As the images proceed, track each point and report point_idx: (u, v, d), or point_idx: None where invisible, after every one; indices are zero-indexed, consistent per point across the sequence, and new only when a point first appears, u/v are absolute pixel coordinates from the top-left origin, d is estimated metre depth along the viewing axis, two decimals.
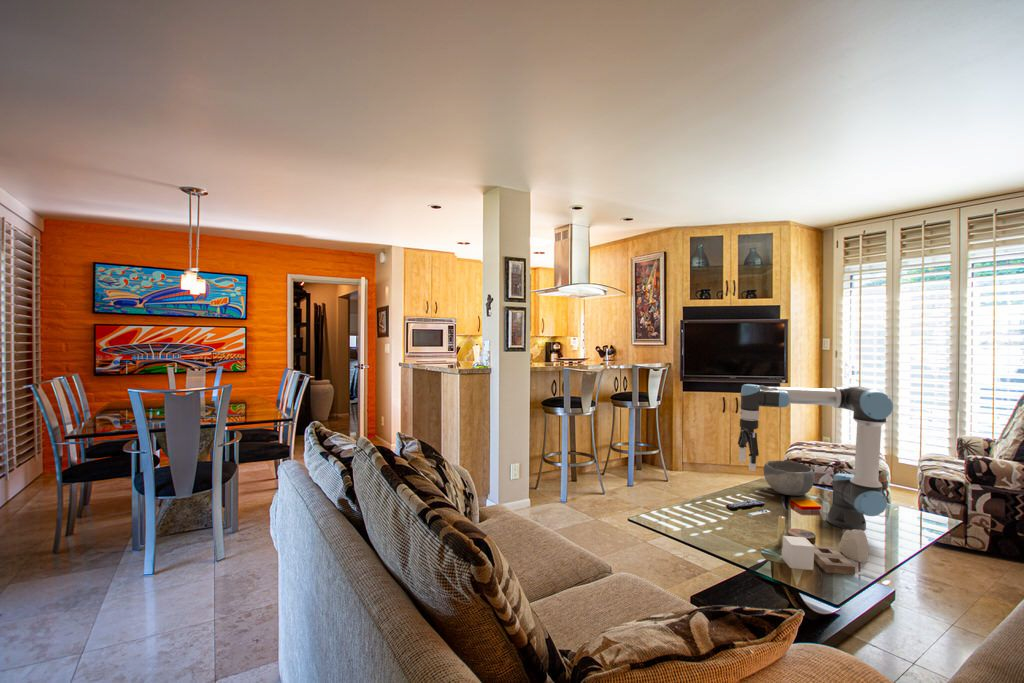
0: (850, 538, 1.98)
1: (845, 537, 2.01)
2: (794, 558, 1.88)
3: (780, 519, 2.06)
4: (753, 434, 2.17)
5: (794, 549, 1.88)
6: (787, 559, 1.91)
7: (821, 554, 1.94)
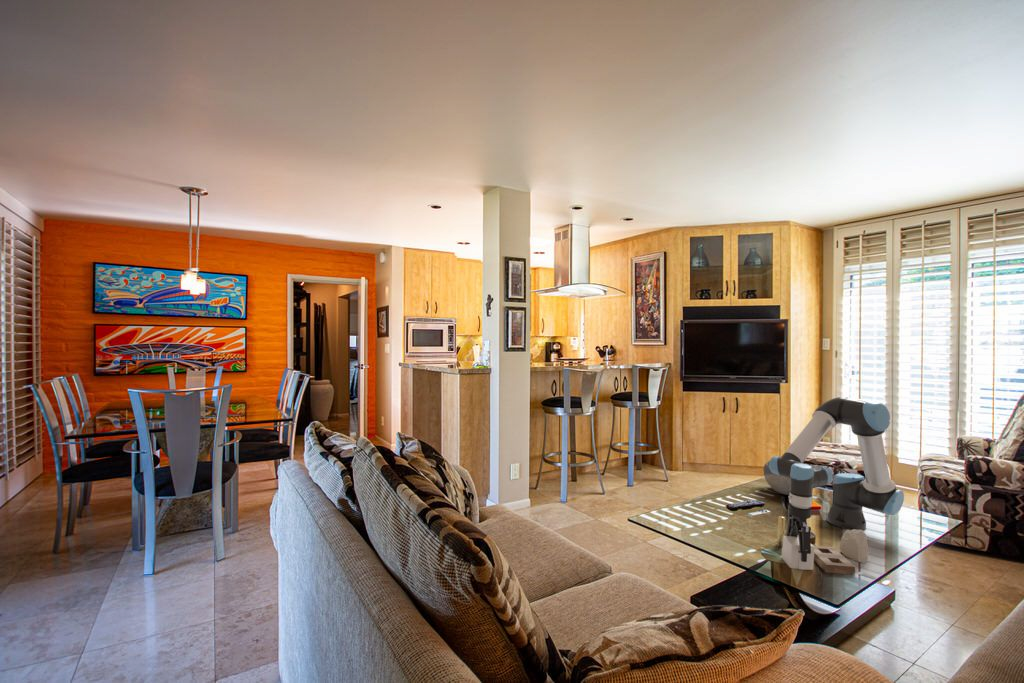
0: (850, 538, 1.98)
1: (845, 537, 2.01)
2: (794, 558, 1.88)
3: (780, 519, 2.06)
4: (806, 529, 1.85)
5: (794, 549, 1.88)
6: (787, 559, 1.91)
7: (821, 554, 1.94)
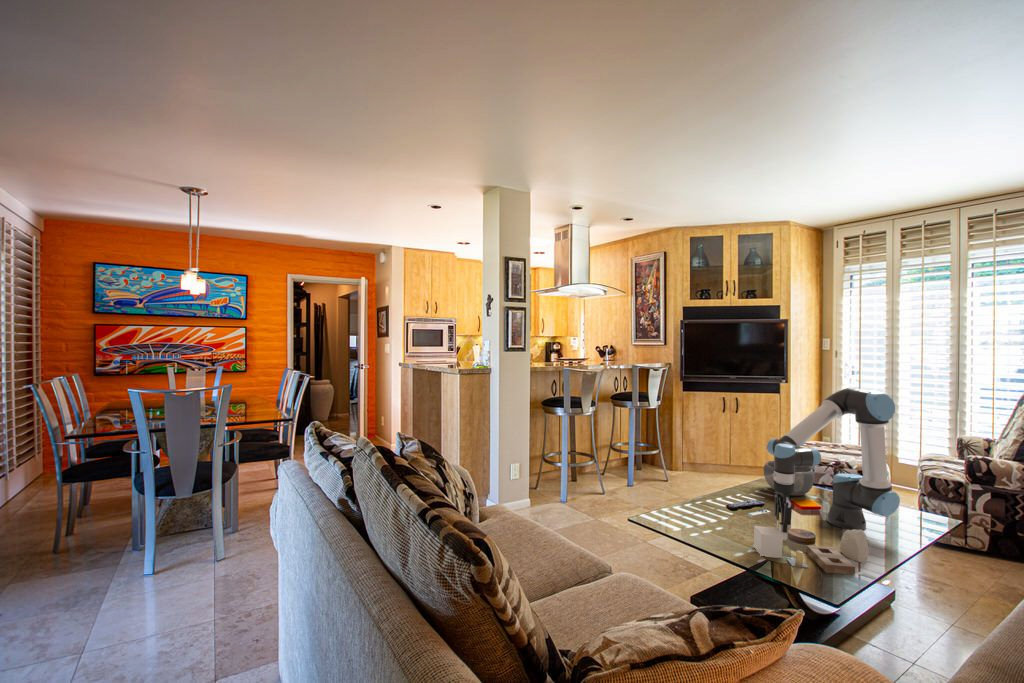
0: (850, 538, 1.98)
1: (845, 537, 2.01)
2: (764, 547, 1.97)
3: None
4: (789, 505, 2.01)
5: (764, 538, 1.97)
6: (758, 548, 2.00)
7: (821, 554, 1.94)
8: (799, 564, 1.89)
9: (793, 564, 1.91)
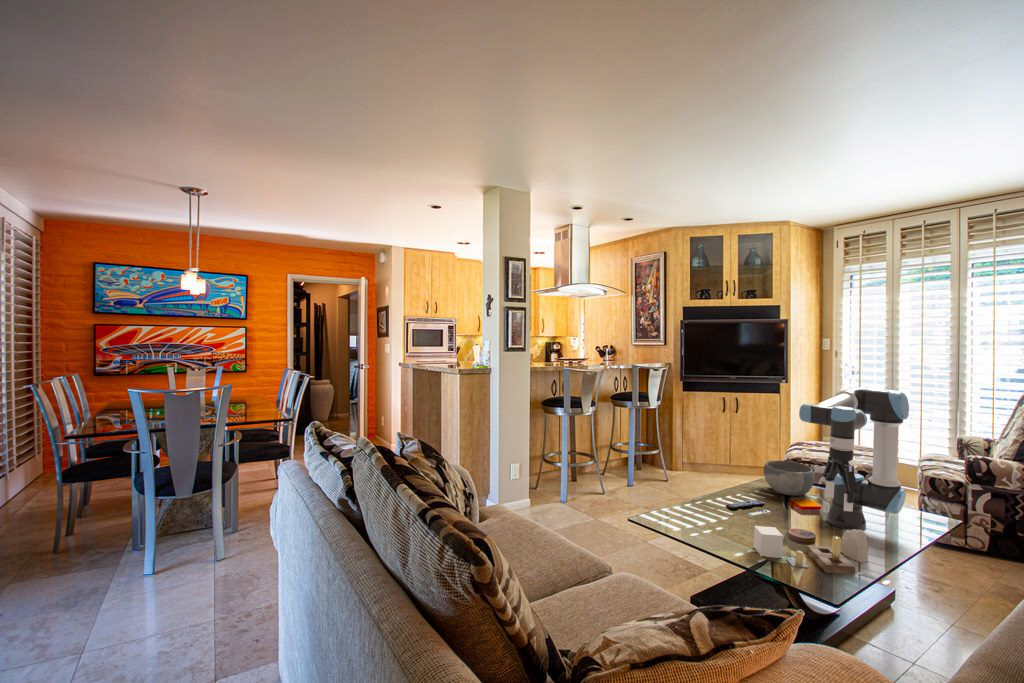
0: (850, 538, 1.98)
1: (845, 537, 2.01)
2: (764, 547, 1.97)
3: (835, 540, 1.88)
4: (849, 467, 1.81)
5: (764, 538, 1.97)
6: (758, 548, 2.00)
7: (821, 554, 1.94)
8: (799, 564, 1.89)
9: (793, 564, 1.91)
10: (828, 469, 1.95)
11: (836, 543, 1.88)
